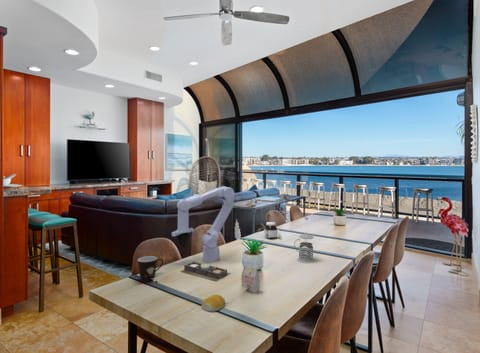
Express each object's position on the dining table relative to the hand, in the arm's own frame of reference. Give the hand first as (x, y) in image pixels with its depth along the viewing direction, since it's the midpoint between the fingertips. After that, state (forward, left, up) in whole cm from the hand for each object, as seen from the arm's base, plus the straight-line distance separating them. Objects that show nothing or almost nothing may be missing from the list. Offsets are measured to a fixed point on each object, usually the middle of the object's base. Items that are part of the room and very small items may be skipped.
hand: (182, 247), depth 156 cm
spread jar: (-82, +13, -11) cm, 84 cm away
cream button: (+4, +11, -9) cm, 15 cm away
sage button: (+4, +19, -7) cm, 20 cm away
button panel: (+4, +19, -10) cm, 22 cm away
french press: (-45, +51, -11) cm, 69 cm away
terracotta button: (+4, +26, -9) cm, 28 cm away
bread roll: (+26, +42, -11) cm, 50 cm away
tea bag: (+6, +46, -11) cm, 48 cm away
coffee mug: (+22, 0, -11) cm, 24 cm away
